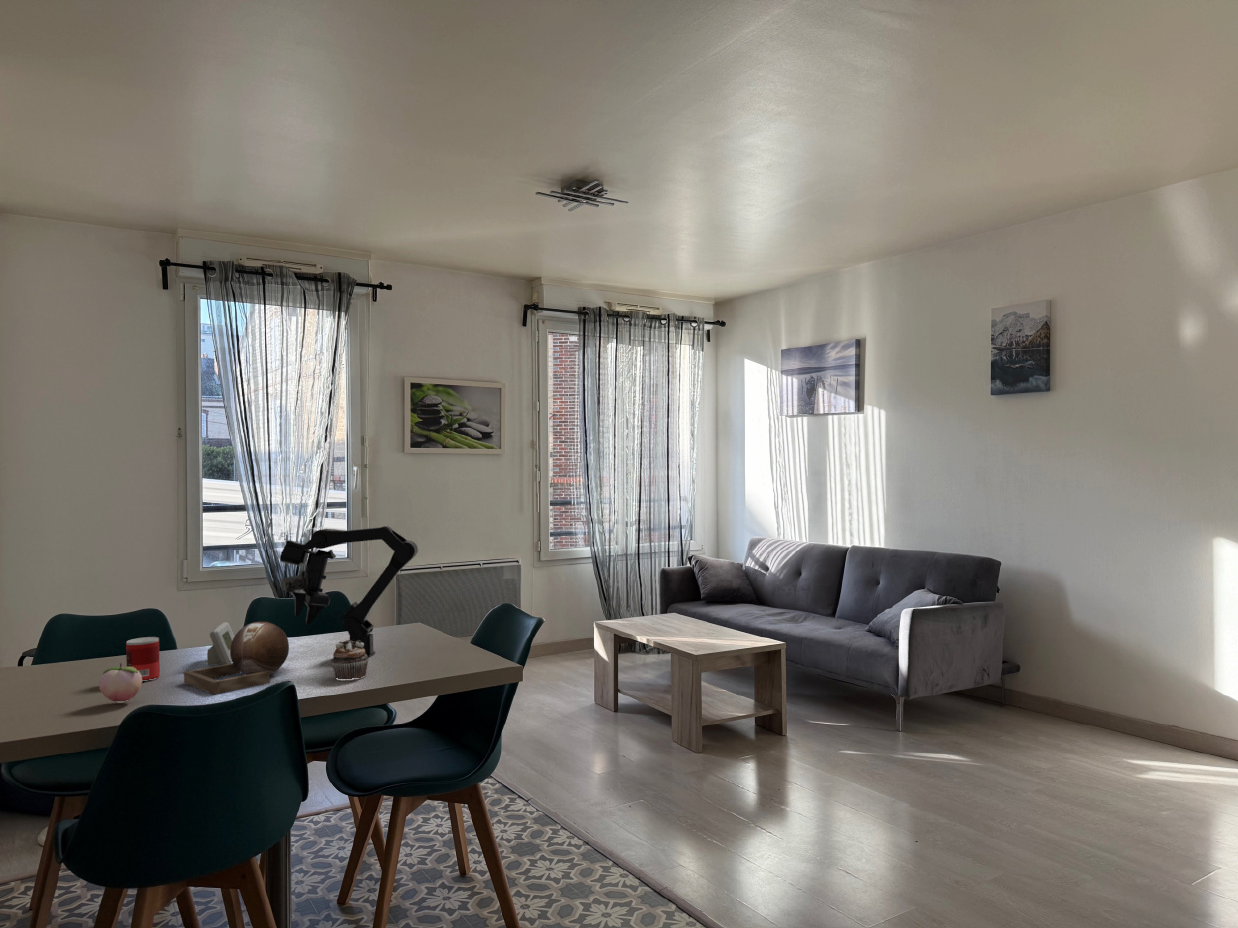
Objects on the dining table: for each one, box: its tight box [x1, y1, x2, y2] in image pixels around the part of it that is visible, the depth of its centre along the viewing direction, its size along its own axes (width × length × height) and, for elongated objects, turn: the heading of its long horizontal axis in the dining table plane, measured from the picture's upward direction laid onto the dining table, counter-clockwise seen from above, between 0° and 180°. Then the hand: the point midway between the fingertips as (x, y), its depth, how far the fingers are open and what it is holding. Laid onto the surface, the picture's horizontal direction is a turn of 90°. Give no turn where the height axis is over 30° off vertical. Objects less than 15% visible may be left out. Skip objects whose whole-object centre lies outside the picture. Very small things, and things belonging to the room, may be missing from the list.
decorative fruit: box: [98, 662, 143, 702], centre depth 212 cm, size 9×8×10 cm
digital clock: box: [206, 621, 235, 666], centre depth 258 cm, size 16×9×11 cm, turn 2°
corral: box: [183, 662, 271, 695], centre depth 231 cm, size 14×19×3 cm
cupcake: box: [331, 639, 370, 679], centre depth 234 cm, size 10×10×10 cm
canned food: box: [125, 636, 161, 680], centre depth 237 cm, size 8×8×11 cm
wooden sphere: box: [230, 620, 290, 676], centre depth 238 cm, size 15×15×15 cm
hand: (302, 620), depth 260 cm, fingers open, 9 cm apart
